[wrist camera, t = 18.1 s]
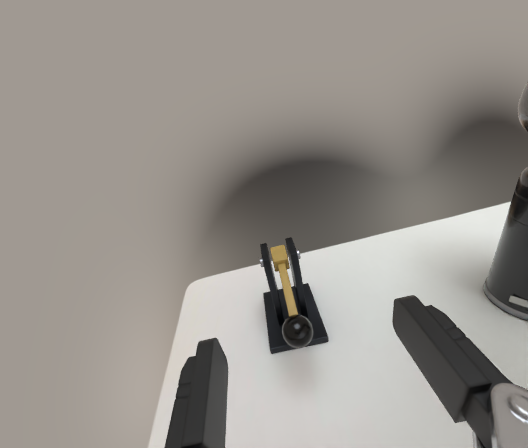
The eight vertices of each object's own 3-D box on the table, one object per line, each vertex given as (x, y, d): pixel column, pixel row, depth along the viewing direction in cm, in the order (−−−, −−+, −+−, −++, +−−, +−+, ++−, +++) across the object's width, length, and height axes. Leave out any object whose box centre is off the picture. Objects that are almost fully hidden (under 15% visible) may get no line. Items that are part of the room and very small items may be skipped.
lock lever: (317, 349, 28) (316, 337, 25) (287, 355, 28) (283, 344, 25) (290, 255, 38) (288, 240, 36) (268, 260, 38) (264, 246, 36)
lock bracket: (328, 341, 37) (319, 267, 30) (271, 354, 37) (249, 282, 30) (308, 287, 47) (298, 223, 40) (264, 297, 47) (246, 234, 40)
